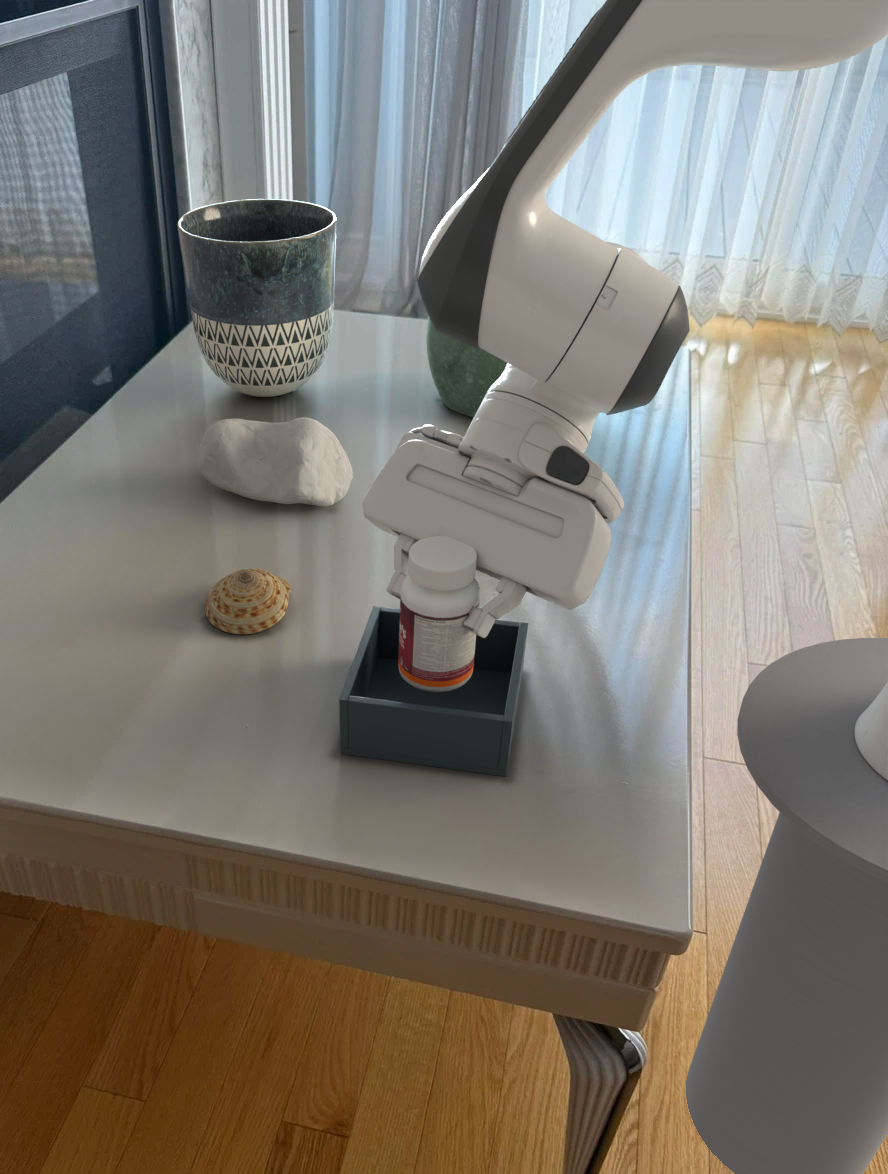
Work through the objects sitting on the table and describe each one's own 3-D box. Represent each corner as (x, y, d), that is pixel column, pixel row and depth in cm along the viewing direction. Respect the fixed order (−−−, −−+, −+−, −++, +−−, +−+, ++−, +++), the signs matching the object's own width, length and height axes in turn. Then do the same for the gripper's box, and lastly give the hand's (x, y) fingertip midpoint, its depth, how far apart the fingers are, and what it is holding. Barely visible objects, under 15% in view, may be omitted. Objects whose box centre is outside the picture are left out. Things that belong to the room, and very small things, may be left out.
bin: (522, 675, 92) (528, 622, 89) (506, 776, 82) (512, 722, 79) (373, 657, 95) (373, 605, 91) (340, 753, 85) (338, 699, 81)
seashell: (305, 569, 102) (277, 580, 95) (299, 625, 104) (272, 641, 96) (227, 556, 104) (194, 567, 97) (223, 612, 106) (190, 626, 98)
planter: (245, 432, 132) (231, 252, 118) (169, 384, 144) (148, 216, 130) (368, 393, 140) (368, 222, 127) (287, 351, 152) (278, 191, 139)
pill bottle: (401, 647, 88) (404, 529, 81) (474, 652, 88) (484, 533, 80) (394, 692, 84) (397, 571, 76) (471, 698, 83) (482, 576, 76)
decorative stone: (367, 457, 120) (342, 406, 110) (344, 535, 117) (317, 490, 108) (232, 445, 125) (198, 396, 116) (208, 519, 123) (171, 475, 114)
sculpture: (571, 379, 143) (590, 223, 130) (573, 429, 131) (596, 261, 118) (429, 374, 145) (435, 219, 132) (419, 422, 133) (424, 257, 120)
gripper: (396, 401, 83) (316, 556, 84) (622, 478, 73) (529, 654, 74) (428, 435, 89) (353, 580, 90) (643, 512, 78) (556, 675, 79)
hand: (434, 615), depth 82 cm, fingers closed on pill bottle, 6 cm apart
